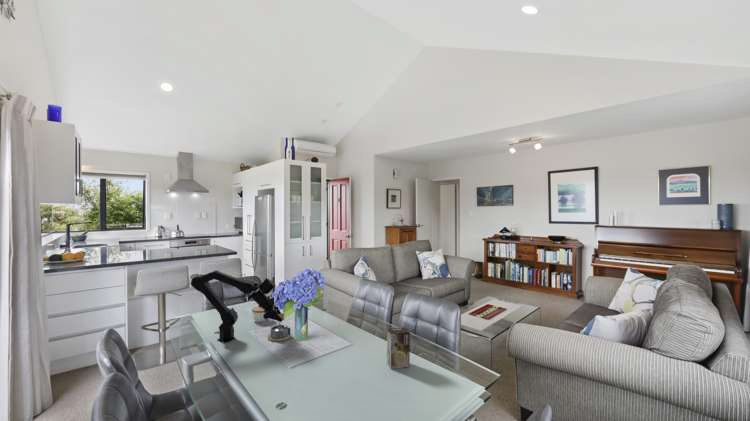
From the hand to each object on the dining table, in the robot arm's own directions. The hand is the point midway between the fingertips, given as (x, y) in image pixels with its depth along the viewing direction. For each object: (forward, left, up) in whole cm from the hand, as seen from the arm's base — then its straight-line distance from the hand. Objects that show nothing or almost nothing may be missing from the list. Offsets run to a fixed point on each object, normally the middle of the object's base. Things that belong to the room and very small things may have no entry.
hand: (282, 319), depth 176 cm
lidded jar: (+13, +29, -10) cm, 33 cm away
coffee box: (+1, -68, -10) cm, 69 cm away
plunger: (-1, +1, -6) cm, 6 cm away
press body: (-1, +1, -10) cm, 10 cm away
